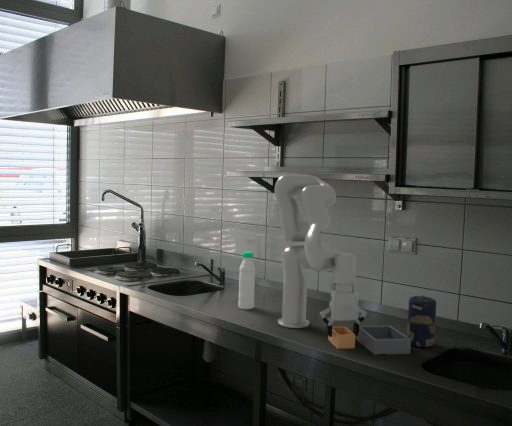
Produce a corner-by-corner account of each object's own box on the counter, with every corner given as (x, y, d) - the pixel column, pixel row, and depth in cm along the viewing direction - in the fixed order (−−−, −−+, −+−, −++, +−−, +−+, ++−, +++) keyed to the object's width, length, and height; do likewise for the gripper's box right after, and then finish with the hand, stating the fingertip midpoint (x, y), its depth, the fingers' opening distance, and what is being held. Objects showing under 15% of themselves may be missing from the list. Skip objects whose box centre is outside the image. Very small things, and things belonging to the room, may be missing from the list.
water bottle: (236, 308, 227) (238, 252, 225) (240, 305, 233) (242, 250, 232) (251, 310, 225) (253, 253, 223) (255, 306, 232) (257, 251, 230)
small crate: (328, 340, 188) (328, 326, 188) (344, 339, 190) (345, 326, 189) (337, 349, 179) (337, 335, 178) (354, 348, 180) (355, 334, 179)
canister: (438, 344, 187) (441, 296, 185) (427, 350, 180) (430, 300, 178) (413, 338, 193) (416, 291, 192) (401, 344, 186) (404, 295, 185)
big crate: (356, 339, 189) (357, 326, 189) (389, 338, 192) (390, 325, 191) (374, 354, 174) (375, 340, 173) (410, 353, 176) (411, 339, 176)
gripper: (324, 290, 177) (322, 339, 178) (371, 289, 180) (369, 337, 181) (317, 286, 184) (316, 333, 185) (363, 285, 188) (361, 331, 189)
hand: (342, 335), depth 183 cm, fingers open, 9 cm apart
